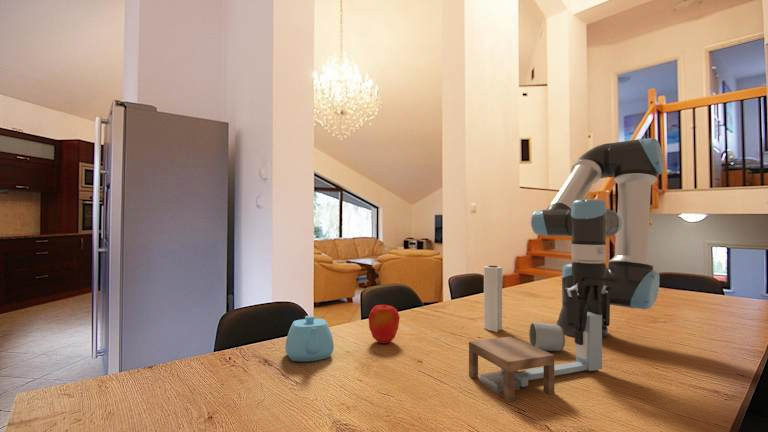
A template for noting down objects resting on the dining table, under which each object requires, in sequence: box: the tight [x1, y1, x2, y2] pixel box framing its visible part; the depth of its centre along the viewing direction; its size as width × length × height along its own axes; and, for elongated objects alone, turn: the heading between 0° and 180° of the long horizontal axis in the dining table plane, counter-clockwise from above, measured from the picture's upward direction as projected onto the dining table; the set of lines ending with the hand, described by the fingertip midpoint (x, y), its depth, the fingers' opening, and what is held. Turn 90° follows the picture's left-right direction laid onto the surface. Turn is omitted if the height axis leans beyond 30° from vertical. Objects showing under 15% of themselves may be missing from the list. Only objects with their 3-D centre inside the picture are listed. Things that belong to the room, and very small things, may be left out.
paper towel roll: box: [483, 265, 503, 333], centre depth 129 cm, size 7×6×21 cm
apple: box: [368, 304, 401, 344], centre depth 114 cm, size 9×9×12 cm
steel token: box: [479, 370, 521, 394], centre depth 84 cm, size 6×6×2 cm
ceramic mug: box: [528, 321, 566, 352], centre depth 109 cm, size 11×8×8 cm
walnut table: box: [468, 336, 555, 403], centre depth 85 cm, size 12×14×8 cm
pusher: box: [500, 312, 603, 388], centre depth 89 cm, size 26×7×13 cm, turn 111°
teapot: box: [285, 314, 334, 362], centre depth 101 cm, size 13×11×18 cm
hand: (588, 356), depth 93 cm, fingers closed on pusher, 4 cm apart
